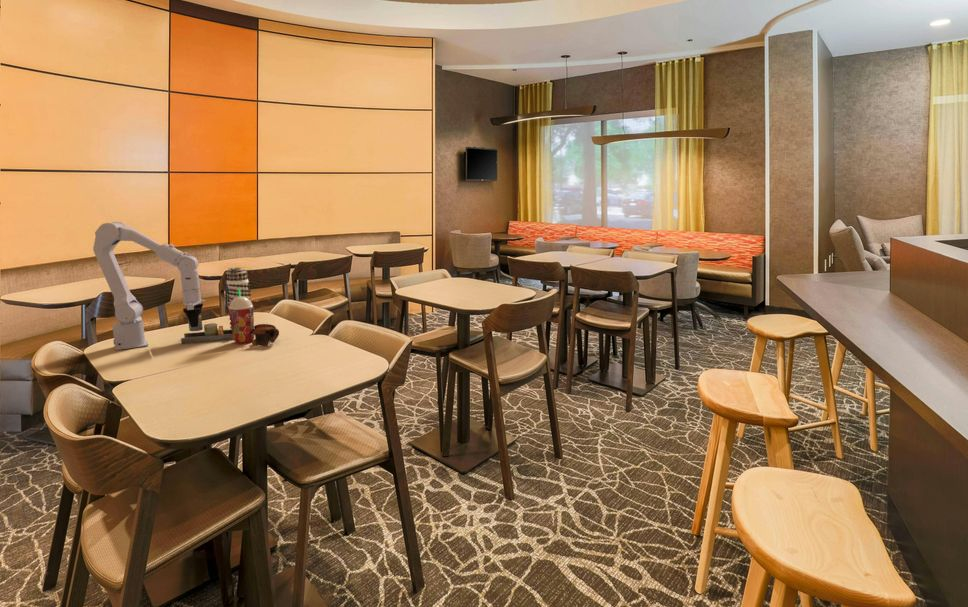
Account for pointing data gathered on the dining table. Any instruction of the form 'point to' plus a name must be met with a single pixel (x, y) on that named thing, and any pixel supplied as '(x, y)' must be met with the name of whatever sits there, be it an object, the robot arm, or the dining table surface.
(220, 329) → the block
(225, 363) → the dining table surface
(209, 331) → the jar
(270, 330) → the pottery mug
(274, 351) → the dining table surface
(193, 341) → the lane
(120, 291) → the robot arm
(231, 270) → the black white checkered cylinder
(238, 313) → the smoothie
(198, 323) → the jar
